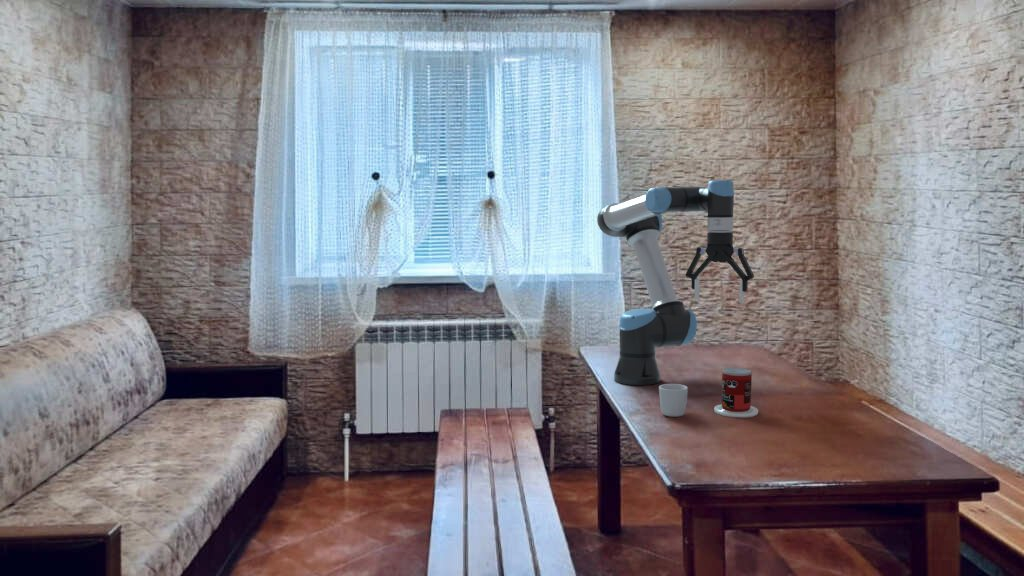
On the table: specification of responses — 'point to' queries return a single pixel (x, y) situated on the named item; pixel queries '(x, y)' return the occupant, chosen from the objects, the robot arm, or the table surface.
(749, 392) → the canned food
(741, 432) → the table surface
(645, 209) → the robot arm
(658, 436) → the table surface
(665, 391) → the cup
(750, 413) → the plate
